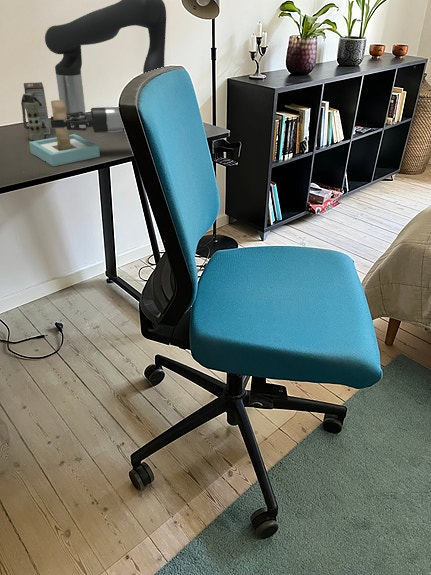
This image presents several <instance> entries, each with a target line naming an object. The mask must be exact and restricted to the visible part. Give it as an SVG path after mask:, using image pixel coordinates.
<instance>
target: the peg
mask: <svg viewBox="0 0 431 575" xmlns="http://www.w3.org/2000/svg"><path fill="white" fill-rule="evenodd" d="M50 105H51V111H52V116H53V119H54V120H63V121H64V119H67V115H66V108H65V101H63V100H59V99H55V100H51V101H50ZM54 130H55V137H56V138H57V144H58V150H59V151H63V150H68V149H71V144H70V137H69V135H70V130H67V129H66V128H65V127H63V128H54Z"/></svg>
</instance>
